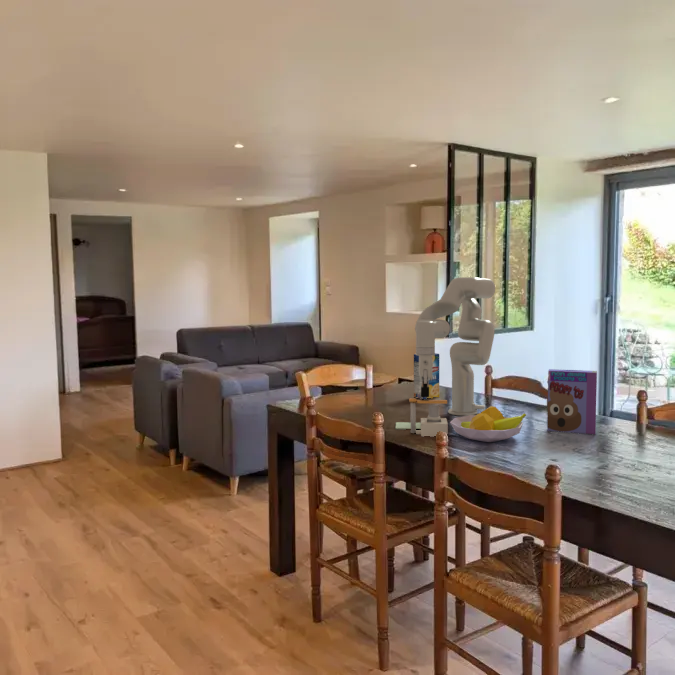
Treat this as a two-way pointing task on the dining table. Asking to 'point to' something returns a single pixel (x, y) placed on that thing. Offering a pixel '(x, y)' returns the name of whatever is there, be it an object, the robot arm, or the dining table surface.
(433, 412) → the plug
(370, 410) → the dining table surface
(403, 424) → the mat
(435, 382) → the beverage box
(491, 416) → the fruit bowl
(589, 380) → the cereal box
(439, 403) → the bar
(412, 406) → the socket block
